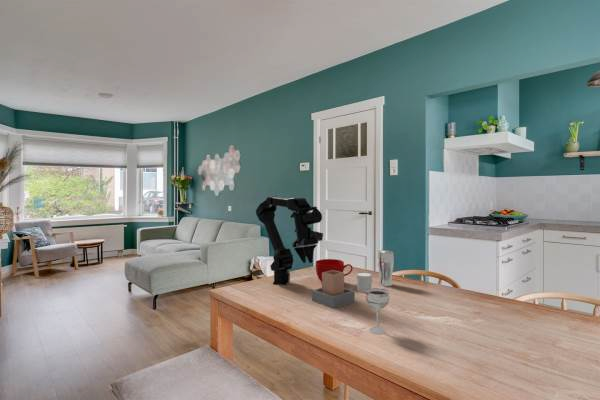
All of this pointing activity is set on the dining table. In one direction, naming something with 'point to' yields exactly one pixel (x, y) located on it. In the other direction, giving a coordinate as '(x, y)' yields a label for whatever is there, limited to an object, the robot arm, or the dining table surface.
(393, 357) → the dining table surface
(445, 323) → the dining table surface
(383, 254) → the beer glass
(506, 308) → the dining table surface
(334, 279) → the terracotta bin
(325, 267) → the ceramic cup
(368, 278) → the white cylindrical piece
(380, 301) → the wineglass
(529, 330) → the dining table surface
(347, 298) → the grey square tray
